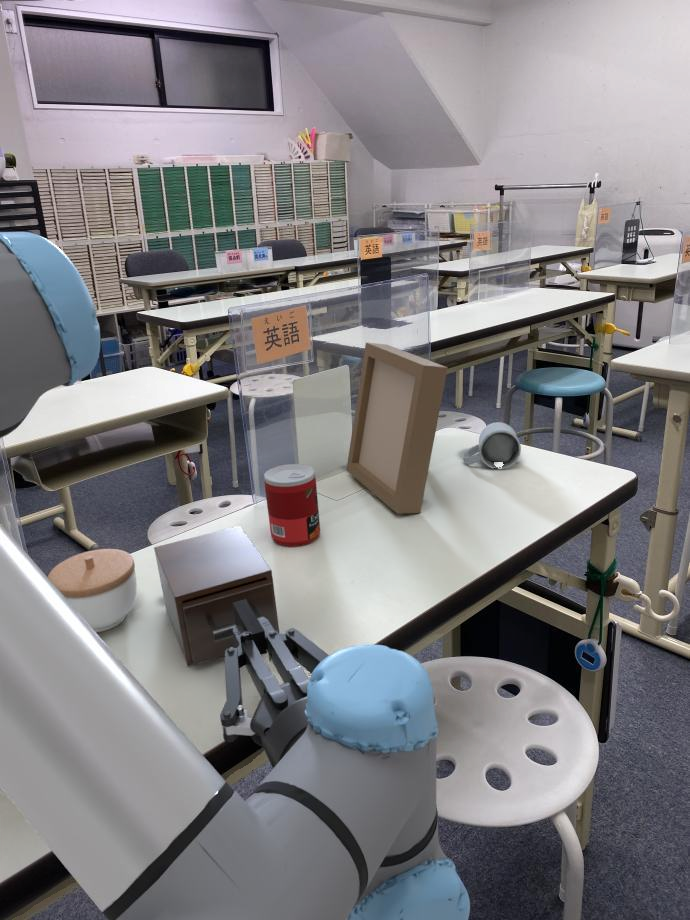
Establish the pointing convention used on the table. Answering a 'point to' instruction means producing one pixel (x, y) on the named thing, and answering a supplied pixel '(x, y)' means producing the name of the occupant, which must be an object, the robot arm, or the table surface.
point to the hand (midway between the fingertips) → (240, 611)
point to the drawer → (223, 617)
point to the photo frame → (395, 425)
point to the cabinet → (206, 572)
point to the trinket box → (98, 585)
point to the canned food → (292, 504)
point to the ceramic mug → (495, 446)
